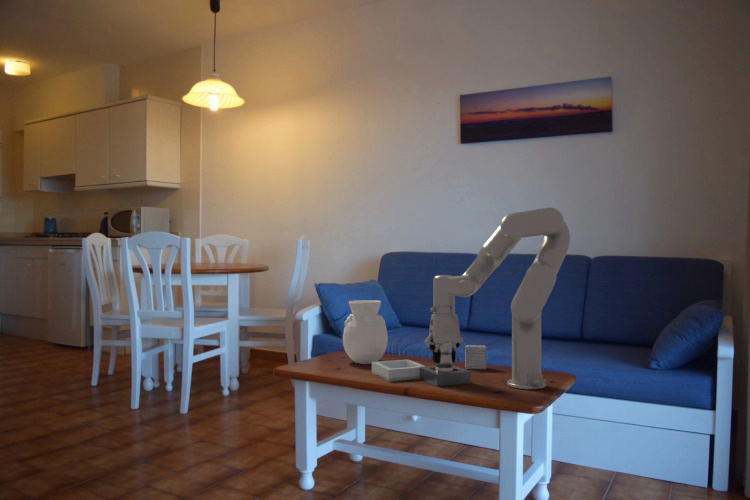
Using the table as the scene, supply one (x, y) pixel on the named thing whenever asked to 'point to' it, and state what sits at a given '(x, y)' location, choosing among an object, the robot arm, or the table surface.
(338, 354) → the table surface
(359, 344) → the white vase
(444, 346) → the plastic bottle
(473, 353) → the grey upright block
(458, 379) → the dark grey storage bin
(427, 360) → the table surface
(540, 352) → the robot arm
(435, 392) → the table surface
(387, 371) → the tray
